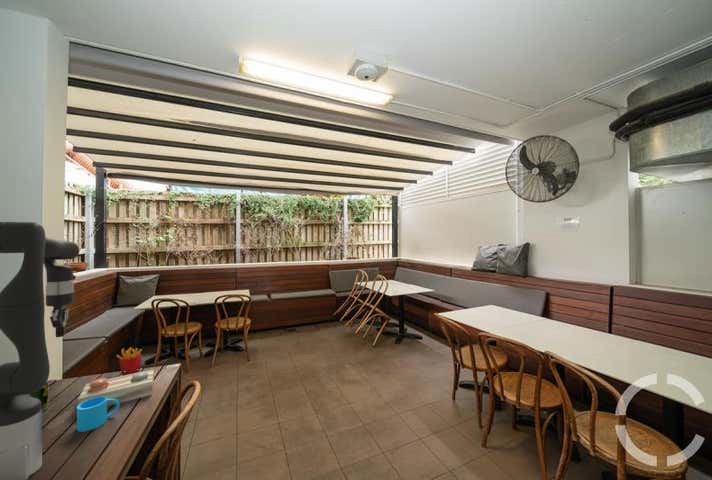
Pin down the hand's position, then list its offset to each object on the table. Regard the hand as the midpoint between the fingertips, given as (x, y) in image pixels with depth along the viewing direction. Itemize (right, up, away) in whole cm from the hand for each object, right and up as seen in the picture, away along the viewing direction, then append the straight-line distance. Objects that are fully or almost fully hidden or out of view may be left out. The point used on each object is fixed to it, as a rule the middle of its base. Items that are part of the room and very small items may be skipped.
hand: (60, 336), depth 107 cm
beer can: (-14, -32, +5) cm, 36 cm away
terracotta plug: (+5, -30, +11) cm, 33 cm away
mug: (+18, -32, -2) cm, 37 cm away
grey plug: (+16, -31, +19) cm, 40 cm away
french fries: (+2, -32, +31) cm, 45 cm away
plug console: (+11, -32, +15) cm, 37 cm away
